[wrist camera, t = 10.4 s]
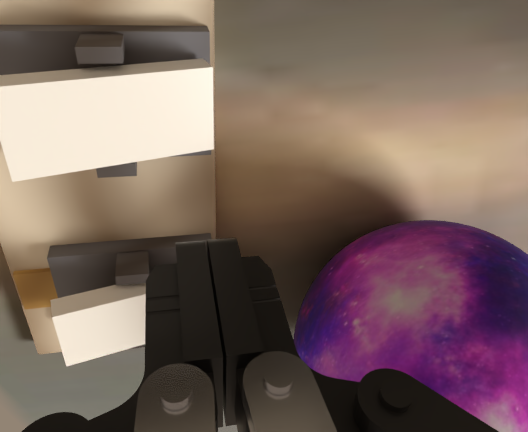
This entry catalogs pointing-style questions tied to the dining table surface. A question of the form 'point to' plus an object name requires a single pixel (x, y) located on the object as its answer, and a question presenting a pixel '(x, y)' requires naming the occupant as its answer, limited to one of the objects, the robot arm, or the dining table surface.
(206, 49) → the switch board
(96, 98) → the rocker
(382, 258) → the decorative orb
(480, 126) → the dining table surface
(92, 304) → the block
